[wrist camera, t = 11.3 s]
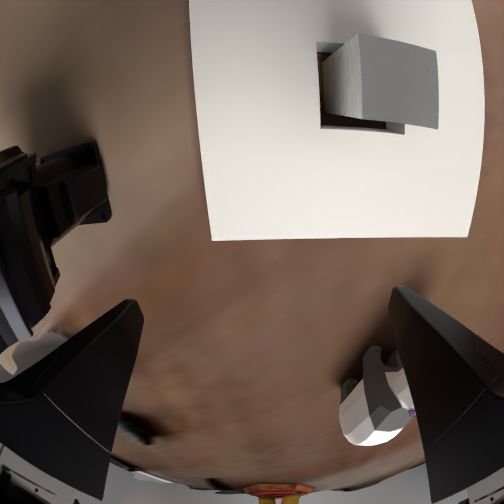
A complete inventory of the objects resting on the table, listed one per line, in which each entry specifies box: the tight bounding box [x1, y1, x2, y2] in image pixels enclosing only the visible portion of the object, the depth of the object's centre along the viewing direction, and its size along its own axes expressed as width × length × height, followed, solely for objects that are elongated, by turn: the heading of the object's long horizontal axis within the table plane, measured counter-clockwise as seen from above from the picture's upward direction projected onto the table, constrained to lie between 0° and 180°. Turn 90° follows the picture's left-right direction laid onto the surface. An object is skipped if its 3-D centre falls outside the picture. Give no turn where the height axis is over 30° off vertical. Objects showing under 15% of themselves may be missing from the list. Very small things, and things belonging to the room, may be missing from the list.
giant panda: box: [339, 345, 416, 446], centre depth 22 cm, size 15×6×10 cm, turn 169°
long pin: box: [322, 34, 439, 130], centre depth 11 cm, size 3×3×8 cm
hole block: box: [189, 0, 484, 241], centre depth 13 cm, size 18×18×3 cm
